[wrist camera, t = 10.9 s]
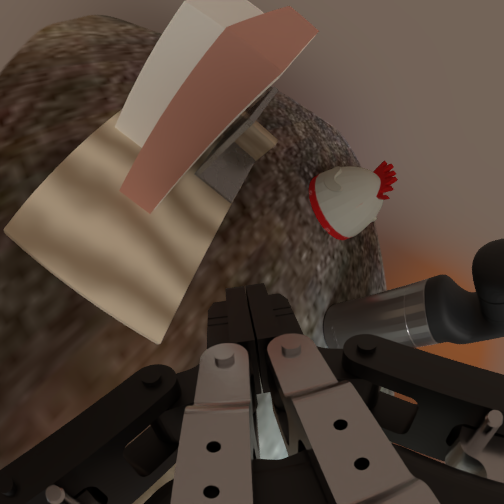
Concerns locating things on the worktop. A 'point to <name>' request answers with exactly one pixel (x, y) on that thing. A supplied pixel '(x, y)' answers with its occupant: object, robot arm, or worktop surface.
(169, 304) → the rack
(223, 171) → the bookend
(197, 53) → the cream book
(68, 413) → the worktop surface
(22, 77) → the worktop surface
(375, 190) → the kitchen timer
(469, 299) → the robot arm
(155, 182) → the terracotta book
